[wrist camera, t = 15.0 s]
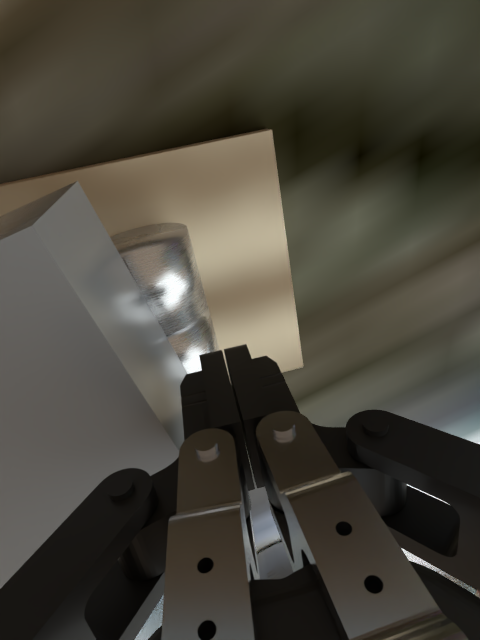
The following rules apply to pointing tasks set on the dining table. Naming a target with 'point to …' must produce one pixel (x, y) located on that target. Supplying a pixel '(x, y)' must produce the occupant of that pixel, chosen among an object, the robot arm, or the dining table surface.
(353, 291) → the dining table surface
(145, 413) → the slab
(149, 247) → the cylinder
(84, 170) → the deck
